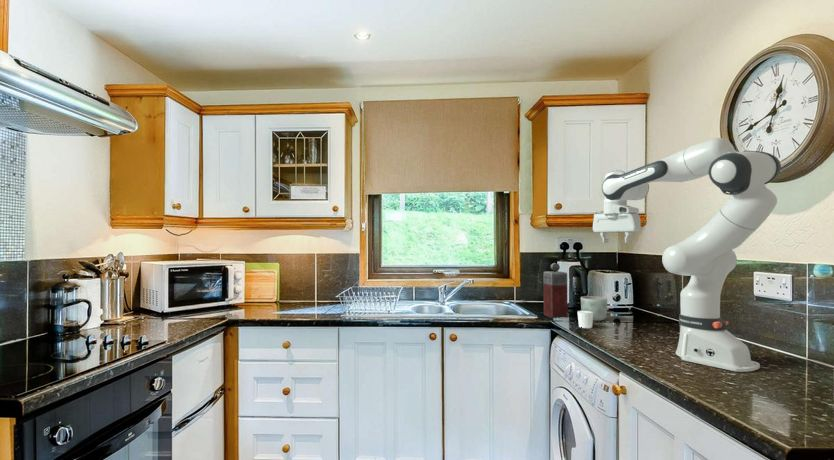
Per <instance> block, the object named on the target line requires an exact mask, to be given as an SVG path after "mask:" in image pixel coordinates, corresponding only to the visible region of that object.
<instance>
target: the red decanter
mask: <svg viewBox="0 0 834 460" xmlns="http://www.w3.org/2000/svg"><path fill="white" fill-rule="evenodd" d="M560 268H561V266H560V264H559V263H556V262H554V263H552V264H550V270H551V271H549V270H548V271H547V270H546V271H543V316H546V317H548V318H551V319H556V318H557V317H558V318H557V319H559V318H560V317H565V318H568V272H564V271H559V270H560Z"/></svg>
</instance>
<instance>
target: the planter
mask: <svg viewBox="0 0 834 460" xmlns="http://www.w3.org/2000/svg"><path fill="white" fill-rule="evenodd" d="M580 311H591V312H593V321H595V322H596V321H597V322H599V321H601V322H602V321H604V320H605V319H606V318H607V316H608V298H607V297H603V296H594V295H590V296H589V295H584V296H580Z"/></svg>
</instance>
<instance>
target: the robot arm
mask: <svg viewBox="0 0 834 460" xmlns="http://www.w3.org/2000/svg"><path fill="white" fill-rule="evenodd" d="M781 169H782V164H781V162H780V160H779V158H778V156H776V155H773V154H772V153H769V152H765V151H760V150H759V151H758V150H757V151H756V150H743V151H737V150H736V149H735V147H734V145H733V144H732V143H731V141H729V140H728V139H726V138H722V137H714V138H711V139H707V140H703V141H700V142H697V143H695V144H692V145H691V146H688V147H686V148H683V149H681V150H679V151H677V152H675V153H672V154H670V155H668V156H666V157H663V158H660V159H658V160H656V161H654V162H651V163H648V164H645V165H643V166H639V167H637V168H635V169H632V170H629V171H627V172H625V171H623V170H619V169H617V170H612V171H610V172H608V173H605V176H604V178H603V182H602V185H601V191H602V192H601V193H602V194H603V197H604V198H603V199H604V200H603V203H602V204H603V210H601V211H596V212H595V213H594V214H593V222H592V231H593V233H600V234H599V235H600V237H601V239H602V243H603V244H609V238H607V233H624V235H625V237H624V238H622V243H623V244H629V242H630V238H631V236H632V233H633V232H640V230H641V226H642V224H641V222H642V221H641V217H640V215H639V212H640V208H638V207H635V206H631V205H628V201H640V200H643V199H644V198H646V197H647V196H648V193H649V190H650V185H649V184H650V183H655V182H656V183H657V182H658V183H659V182H666V183H669V182H670V183H674V182H675V183H683V182H690V181H693V180H697V179H700V178H702V177H703V178H704V177H705V176H708V177H709V179H710V181H711V182H712V183H713V184H714V185H715V186H716V187H718V188H719V189H720V191H721V193H723V194H724V195H728V196H729V198H728V199H727V201H726V202H725V203H724V204H723V205H722V206H721V207H720V208H719V209H718V210H717V212H716V213H715V214H714V215H713V216H712V217H711V218H710V219H709V220H708V221H707V222H706V224H704V225H703V226H702V227H700V228H699V229H698V230H697V231H695V232H694V233H692V234H691V235H689V236H688V237H686V238H684V239H683V240H682V241H680V242H678V243H675V244H673V245H670V246H669V247H667V248H665V249H664V251H663V252H662V256H661V257H662V258H661V259H662V260H661V262H662V264H663V265H662V266H663V267H664V268H665V270H666V271H667V272H669V273H671V274H674V275H677V276H678V275H679V276H683V277H688V276H689V277H690V279H689V282H688V283H687V284H686V285H685V287H684V288H683V289H682V290H681V291H680V294H679V296H680V299H679V300H680V304H679V305H680V313H679V314H678V325H679V326H678V327H679V339H678V343H677V347H676V350H675V355H676V356H678V357H680V359H681V360H682V361H685V362H690V363H695V364H700V365H703V366H708V367H713V368H718V369H723V370H728V371H731V372H741V373H743V372H746V373H748V372H754V371H757V370H759V369H760V368H761V365H760V363H759V362H757V361H755V360H752V359H751V358H752V357H751V353H750V352H751V351H750V350H749V347H748V346H747V345H746V344H745V343H744V342H742V341H741V340H740V339H738V338H737V337H736V336H735V335H733V333H732V332H730V331H728V330H727V325H730V324H729V322H730V321H728V320H727V321H725V320H724V319H723V318H722V317H721V295H722V289H723V286H724V283H725V282H726V278H727V276H728V275H729V273H731V272H732V271H733V270H734V269H735V268H736V266H737V263H738V259H737V254H736V253H735V251H734V249H735V250H736V249H737V248H738V247H740V246H742V244H743V243H744V242H746V240H748V238H749V237H751V235H753V233H755V232H756V231H757V230H758V229H759V227H760V226H761V225H762V224H764V222H765V221H766V220H768V218H769V216H770V215H771V213H772V212H773V210H774V209H775V208H776V206H777V203H778V198H777V196H776V195H775V193H774V192H773V191H772V190H771V189H769V188H768V187H767V186H766V185H767V184H769V183H771V182H773V181H774V180H775V179H776V178H778V176H779V175H780V173H781V171H782V170H781Z"/></svg>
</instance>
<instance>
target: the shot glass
mask: <svg viewBox="0 0 834 460" xmlns="http://www.w3.org/2000/svg"><path fill="white" fill-rule="evenodd" d="M577 320H578V327H579V328H581V327H582V328H581V329H592V328H593V323H594V322H593V312H591V311H581V310H577Z"/></svg>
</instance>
